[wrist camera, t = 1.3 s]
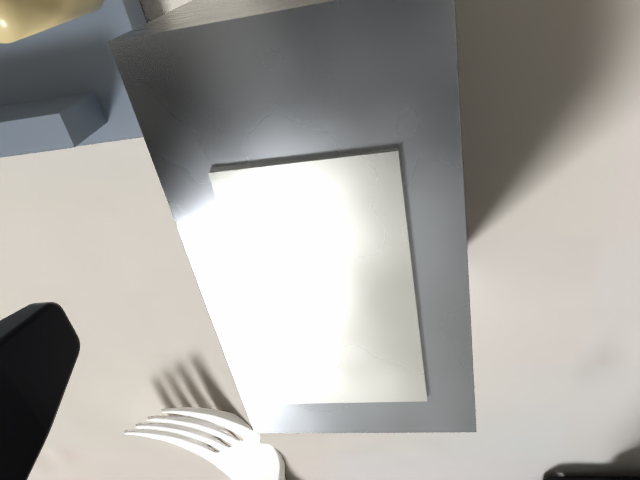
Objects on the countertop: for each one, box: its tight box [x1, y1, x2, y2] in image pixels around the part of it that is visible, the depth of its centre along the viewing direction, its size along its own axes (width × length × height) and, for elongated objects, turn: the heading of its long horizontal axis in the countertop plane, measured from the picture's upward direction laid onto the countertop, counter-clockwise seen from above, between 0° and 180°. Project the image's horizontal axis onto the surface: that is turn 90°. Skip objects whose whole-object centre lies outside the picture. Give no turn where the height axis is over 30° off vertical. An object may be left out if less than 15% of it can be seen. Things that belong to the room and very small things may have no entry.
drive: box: [108, 0, 476, 433], centre depth 11 cm, size 8×4×6 cm, turn 11°
